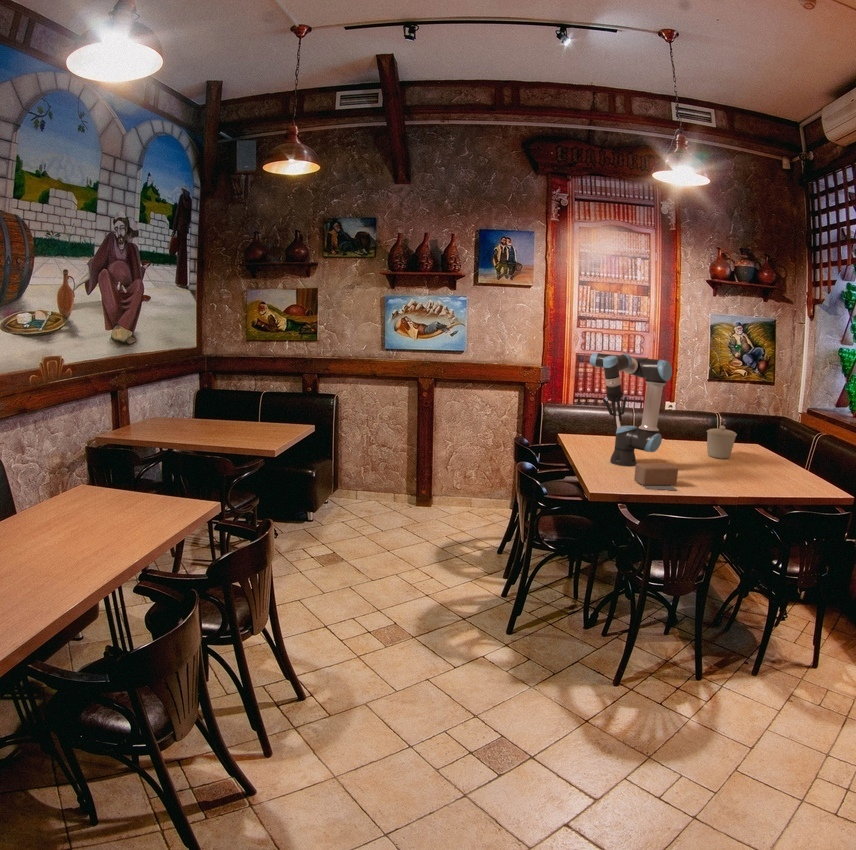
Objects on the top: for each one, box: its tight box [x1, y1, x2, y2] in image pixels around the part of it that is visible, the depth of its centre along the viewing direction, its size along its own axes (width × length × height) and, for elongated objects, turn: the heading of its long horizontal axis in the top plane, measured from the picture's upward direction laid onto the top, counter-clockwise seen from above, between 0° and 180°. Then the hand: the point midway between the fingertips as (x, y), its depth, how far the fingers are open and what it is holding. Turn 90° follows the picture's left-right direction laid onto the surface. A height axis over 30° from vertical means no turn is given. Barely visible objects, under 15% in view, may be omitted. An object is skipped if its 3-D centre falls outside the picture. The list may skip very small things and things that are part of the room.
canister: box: [706, 425, 738, 460], centre depth 397 cm, size 18×18×21 cm
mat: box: [642, 485, 678, 492], centre depth 326 cm, size 16×16×1 cm
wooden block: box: [633, 462, 679, 486], centre depth 328 cm, size 10×10×20 cm
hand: (618, 426), depth 329 cm, fingers closed
